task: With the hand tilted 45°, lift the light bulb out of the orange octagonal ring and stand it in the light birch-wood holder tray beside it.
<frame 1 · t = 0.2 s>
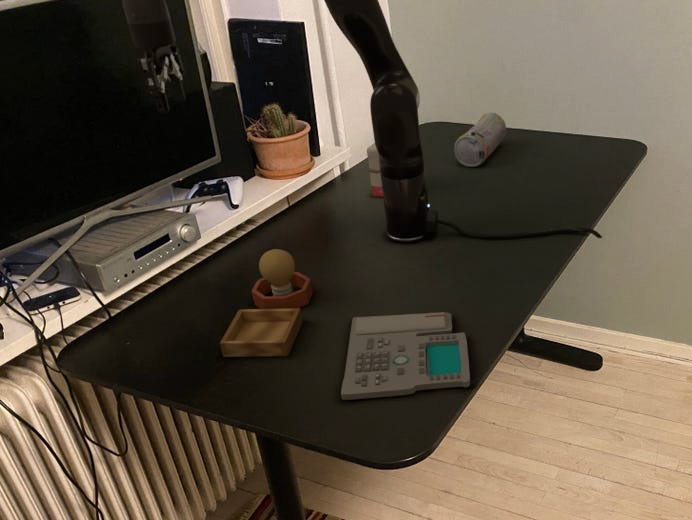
hand: (172, 106, 145), 29 cm above the table, tool pointing down, fingers open, 8 cm apart
tray: (264, 338, 127), on the table
pencil case: (481, 156, 201), on the table
office telephone: (407, 355, 122), on the table
orange octagonal ring: (284, 298, 139), on the table
light bulb: (284, 299, 139), resting in orange octagonal ring
ink box: (387, 191, 182), on the table
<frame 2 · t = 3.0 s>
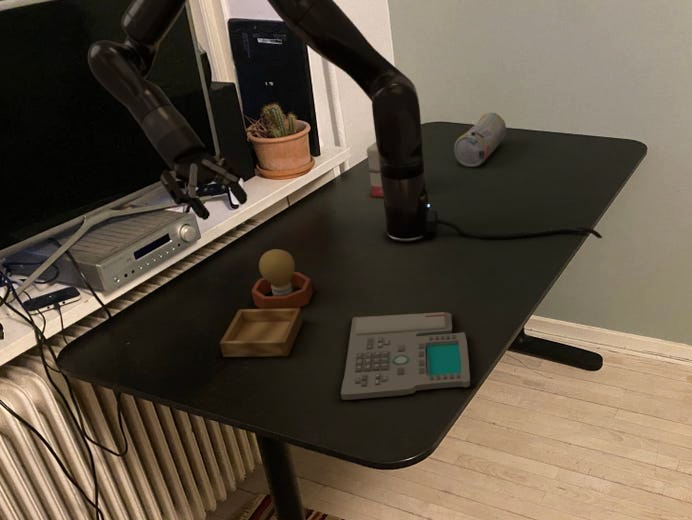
hand: (226, 209, 135), 16 cm above the table, tool tilted 45°, fingers open, 8 cm apart
nothing on the table moved.
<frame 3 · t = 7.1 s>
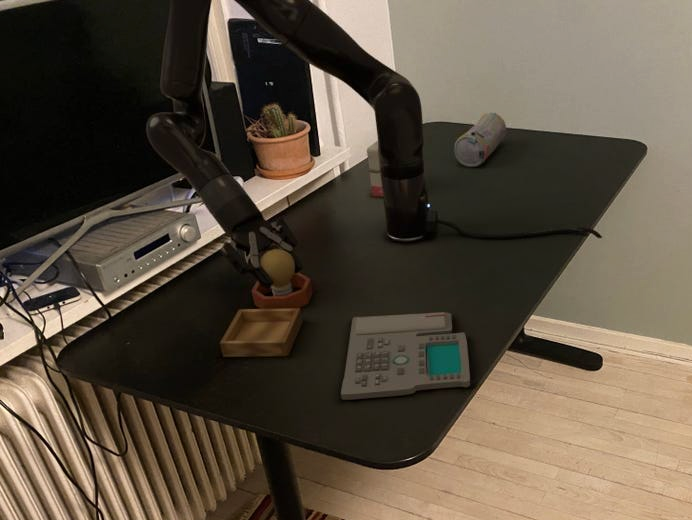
hand: (285, 278, 135), 5 cm above the table, tool tilted 45°, fingers closed on light bulb, 6 cm apart
light bulb: (284, 299, 139), resting in orange octagonal ring, touching gripper
everything else where it was.
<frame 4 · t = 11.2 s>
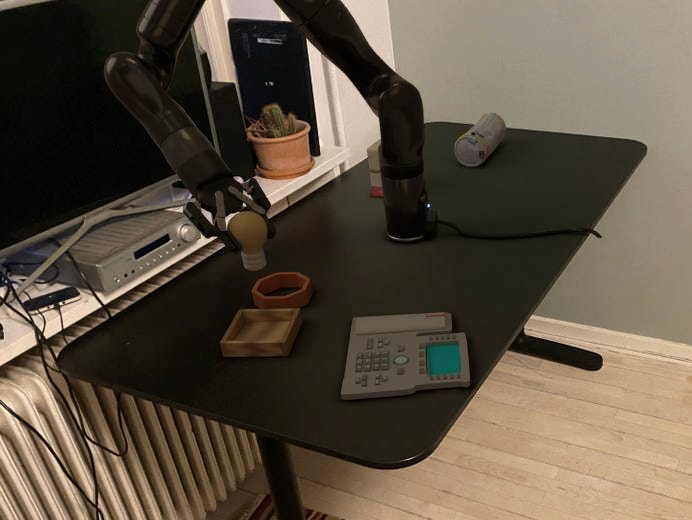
hand: (256, 244, 121), 16 cm above the table, tool tilted 45°, fingers closed on light bulb, 6 cm apart
light bulb: (256, 268, 125), point 11 cm above the table, touching gripper
everything else where it was.
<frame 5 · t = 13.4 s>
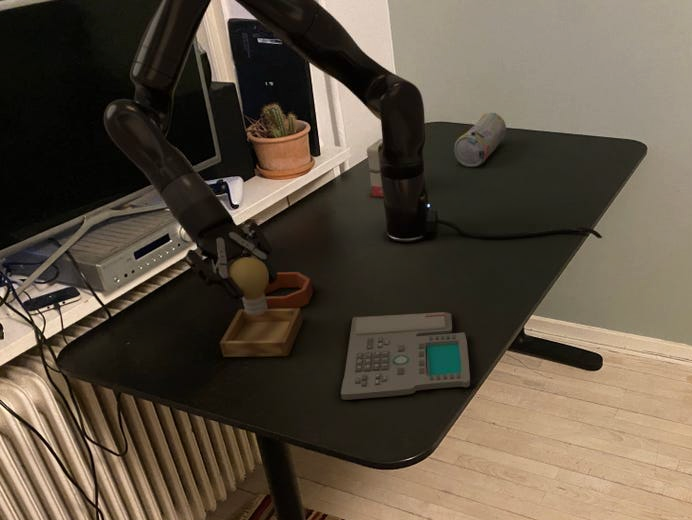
hand: (257, 289, 121), 10 cm above the table, tool tilted 45°, fingers closed on light bulb, 6 cm apart
light bulb: (257, 313, 124), point 5 cm above the table, touching gripper
everything else where it was.
when the fingers open (5 cm above the table, at t = 15.3 s): light bulb stays where it is, resting on tray.
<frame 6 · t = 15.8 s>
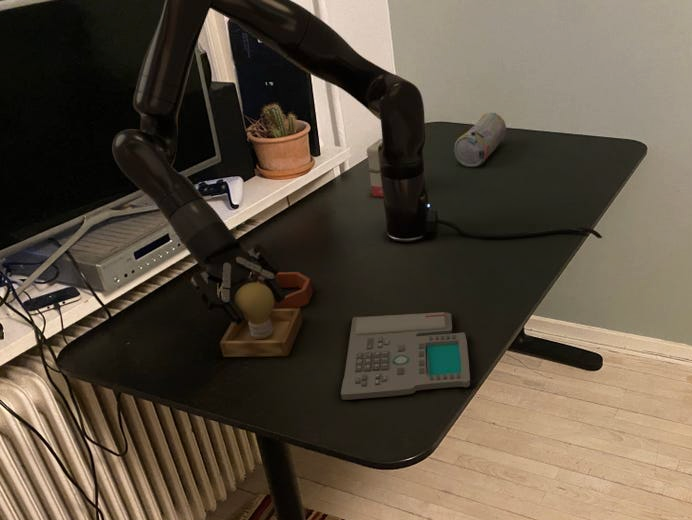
hand: (262, 311, 123), 6 cm above the table, tool tilted 45°, fingers open, 8 cm apart
light bulb: (263, 336, 127), resting on tray
everything else where it was.
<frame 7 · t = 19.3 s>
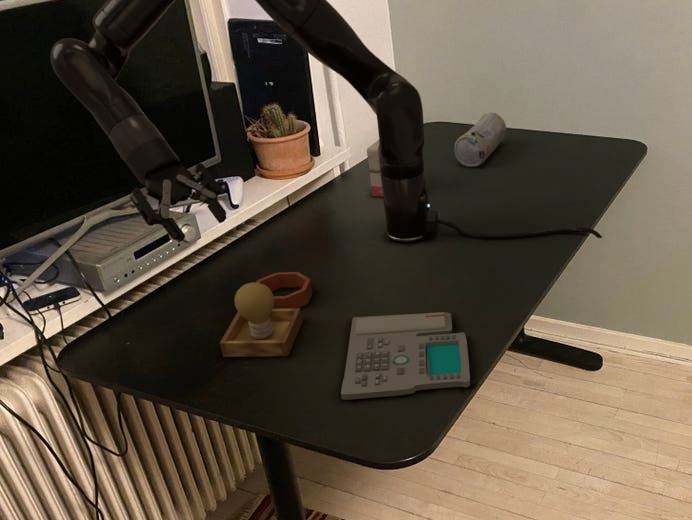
hand: (203, 229, 124), 17 cm above the table, tool tilted 40°, fingers open, 8 cm apart
nothing on the table moved.
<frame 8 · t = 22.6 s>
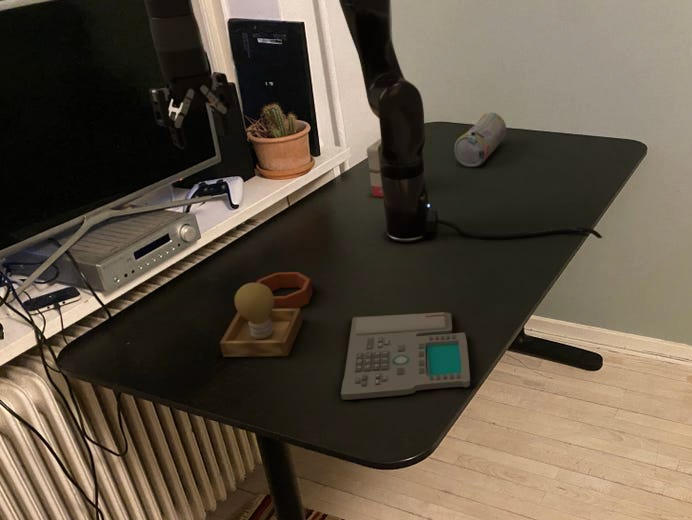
hand: (203, 141, 129), 28 cm above the table, tool pointing down, fingers open, 8 cm apart
nothing on the table moved.
at the end: light bulb 0.2 cm off-centre in the tray, point 0.4 cm above the tray's base; light bulb tilted 0°; the gripper is holding nothing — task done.
